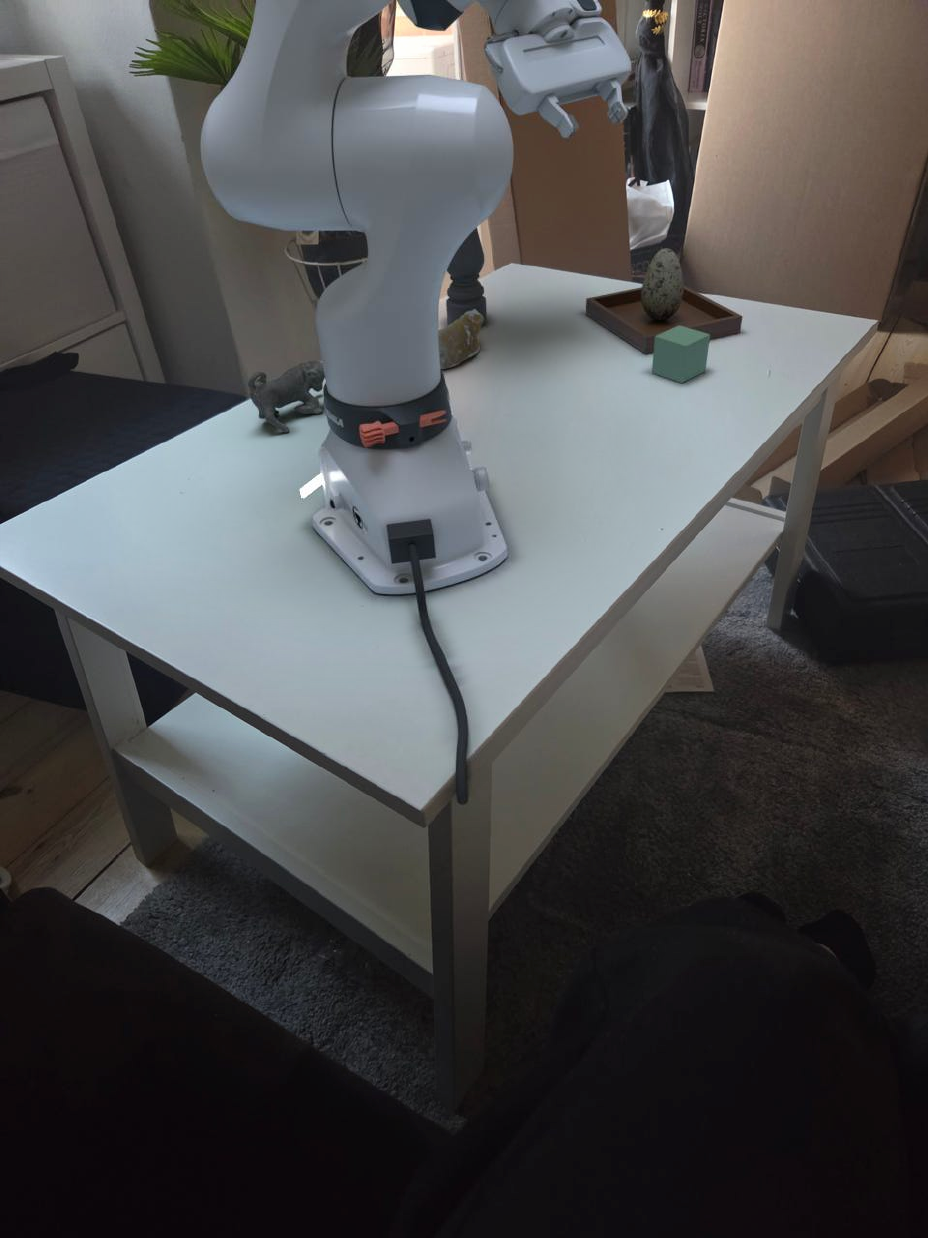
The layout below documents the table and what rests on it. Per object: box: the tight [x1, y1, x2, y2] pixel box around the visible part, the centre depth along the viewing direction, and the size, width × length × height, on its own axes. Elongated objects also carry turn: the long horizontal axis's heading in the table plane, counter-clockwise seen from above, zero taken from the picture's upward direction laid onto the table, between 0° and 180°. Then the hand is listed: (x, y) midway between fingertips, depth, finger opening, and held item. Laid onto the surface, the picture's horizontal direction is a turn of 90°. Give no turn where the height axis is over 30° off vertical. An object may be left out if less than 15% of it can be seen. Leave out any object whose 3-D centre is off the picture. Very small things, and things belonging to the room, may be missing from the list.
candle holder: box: [445, 227, 488, 327], centre depth 122 cm, size 6×6×25 cm
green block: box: [651, 325, 711, 384], centre depth 110 cm, size 5×5×5 cm
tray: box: [585, 284, 743, 355], centre depth 124 cm, size 18×16×2 cm
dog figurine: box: [247, 360, 325, 433], centre depth 106 cm, size 12×6×7 cm, turn 138°
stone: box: [438, 309, 484, 370], centre depth 118 cm, size 7×6×15 cm
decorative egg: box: [641, 247, 685, 320], centre depth 121 cm, size 6×6×10 cm
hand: (597, 126), depth 103 cm, fingers open, 8 cm apart
